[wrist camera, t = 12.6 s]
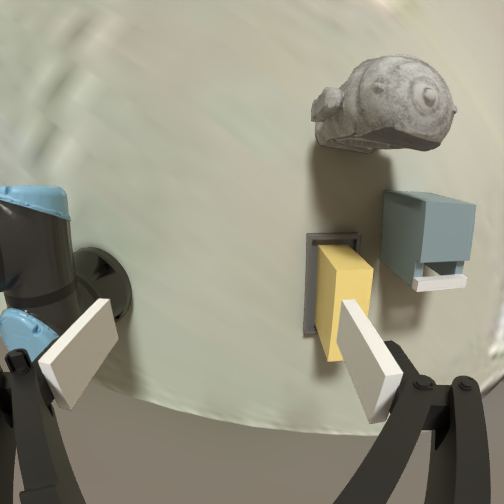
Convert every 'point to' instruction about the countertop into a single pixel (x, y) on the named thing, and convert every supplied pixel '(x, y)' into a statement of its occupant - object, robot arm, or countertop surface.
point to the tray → (311, 269)
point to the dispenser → (426, 238)
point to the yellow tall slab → (338, 291)
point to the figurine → (385, 107)
